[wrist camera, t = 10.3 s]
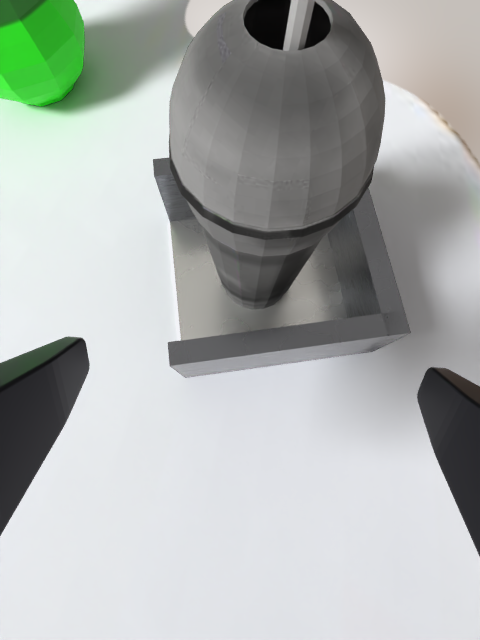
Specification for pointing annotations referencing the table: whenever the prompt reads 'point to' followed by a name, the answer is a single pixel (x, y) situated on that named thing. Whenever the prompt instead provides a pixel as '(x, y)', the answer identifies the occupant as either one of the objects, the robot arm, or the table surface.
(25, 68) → the plastic bottle
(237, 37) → the beverage cup
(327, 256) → the box
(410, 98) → the table surface
